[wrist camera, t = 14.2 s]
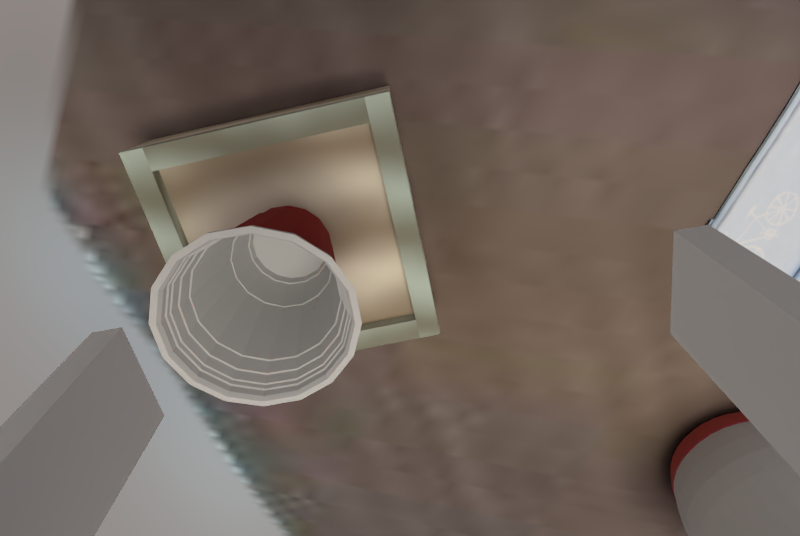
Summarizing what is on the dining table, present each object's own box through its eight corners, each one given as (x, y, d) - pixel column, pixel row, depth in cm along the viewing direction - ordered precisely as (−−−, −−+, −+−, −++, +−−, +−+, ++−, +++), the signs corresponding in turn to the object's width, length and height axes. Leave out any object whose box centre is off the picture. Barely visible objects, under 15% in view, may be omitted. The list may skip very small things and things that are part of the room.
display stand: (150, 139, 39) (118, 152, 34) (388, 85, 37) (389, 91, 33) (232, 344, 46) (215, 377, 41) (435, 303, 45) (440, 333, 40)
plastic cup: (334, 330, 41) (314, 438, 30) (199, 277, 39) (124, 371, 28) (393, 209, 37) (396, 281, 26) (247, 143, 35) (182, 190, 24)
